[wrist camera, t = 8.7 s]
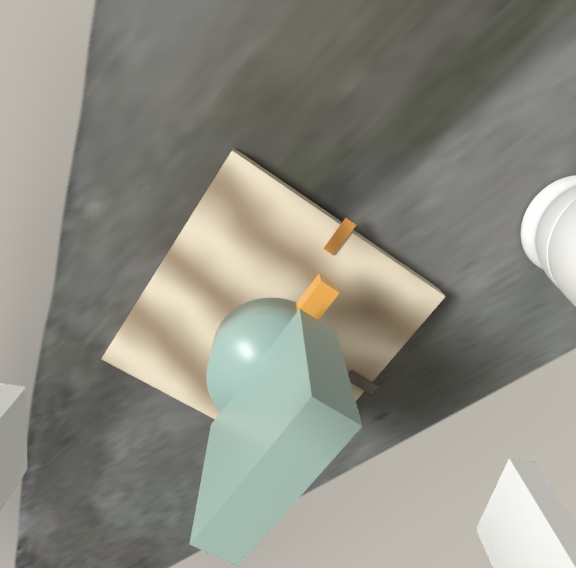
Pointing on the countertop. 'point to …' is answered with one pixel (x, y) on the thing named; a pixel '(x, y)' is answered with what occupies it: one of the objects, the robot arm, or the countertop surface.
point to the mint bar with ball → (270, 417)
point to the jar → (553, 234)
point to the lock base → (265, 284)
